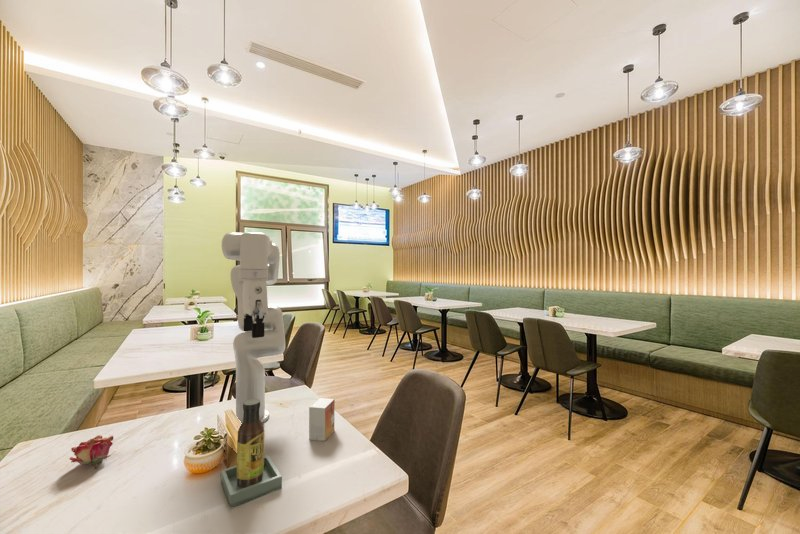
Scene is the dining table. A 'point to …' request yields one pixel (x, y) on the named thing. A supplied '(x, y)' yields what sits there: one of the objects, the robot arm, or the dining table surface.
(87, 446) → the flower
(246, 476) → the sauce bottle
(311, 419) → the small box
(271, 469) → the tray
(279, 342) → the robot arm
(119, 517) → the dining table surface
